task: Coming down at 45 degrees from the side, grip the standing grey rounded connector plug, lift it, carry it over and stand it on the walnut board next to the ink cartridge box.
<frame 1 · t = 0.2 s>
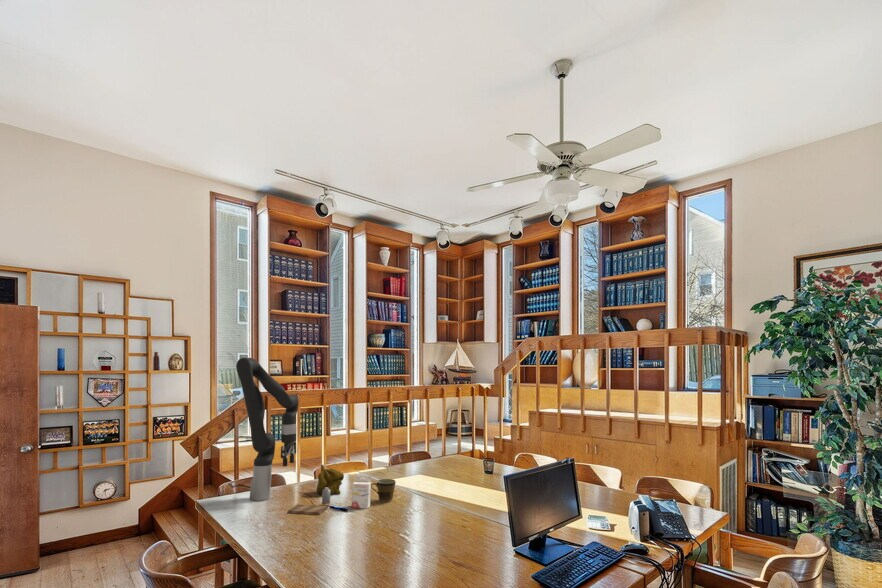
hand: (288, 464, 252), 18 cm above the table, tool pointing down, fingers open, 8 cm apart
ink cartridge box: (360, 507, 239), on the table
ceramic cup: (382, 501, 249), on the table
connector: (325, 505, 240), on the table
gourd: (328, 493, 264), on the table
walnut board: (308, 510, 231), on the table
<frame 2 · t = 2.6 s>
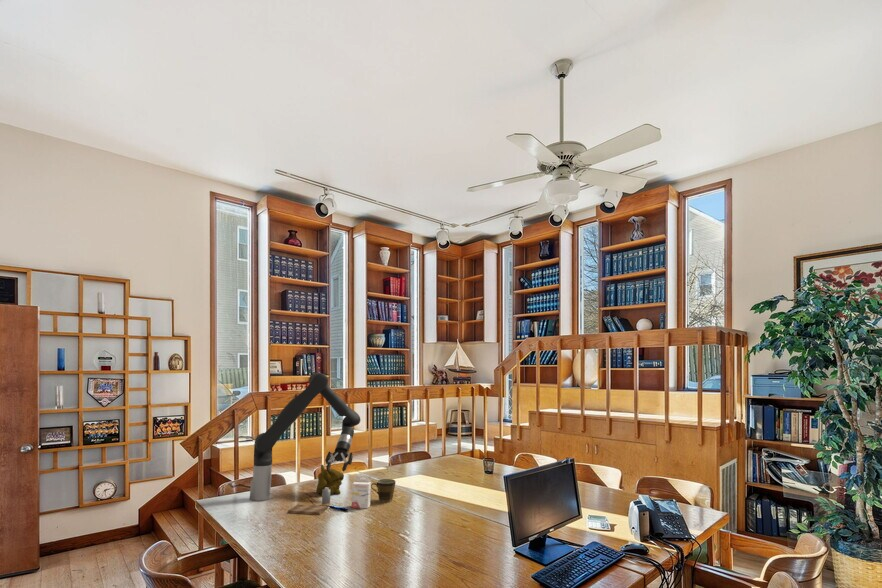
hand: (335, 470, 254), 15 cm above the table, tool tilted 45°, fingers open, 8 cm apart
nothing on the table moved.
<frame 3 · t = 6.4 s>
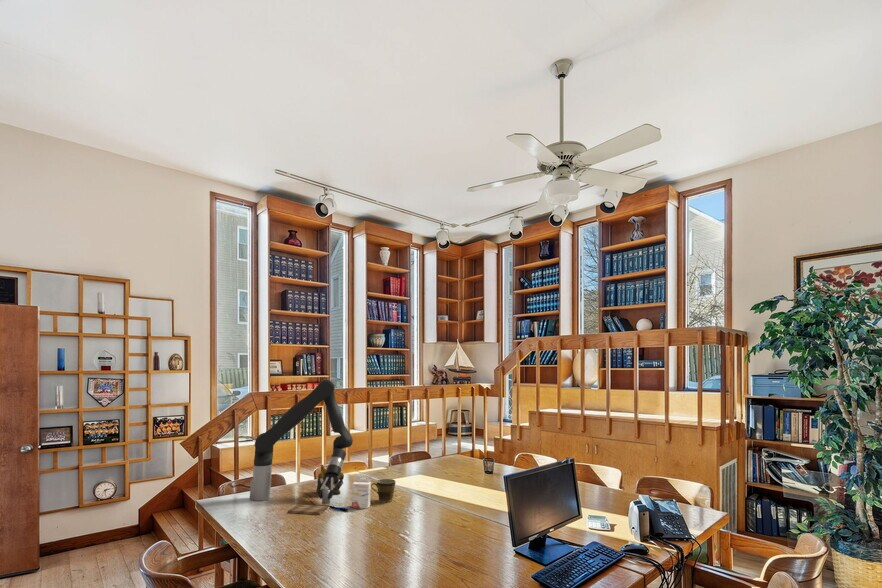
hand: (324, 498, 239), 4 cm above the table, tool tilted 45°, fingers closed on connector, 4 cm apart
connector: (325, 505, 240), on the table, touching gripper
everything else where it was.
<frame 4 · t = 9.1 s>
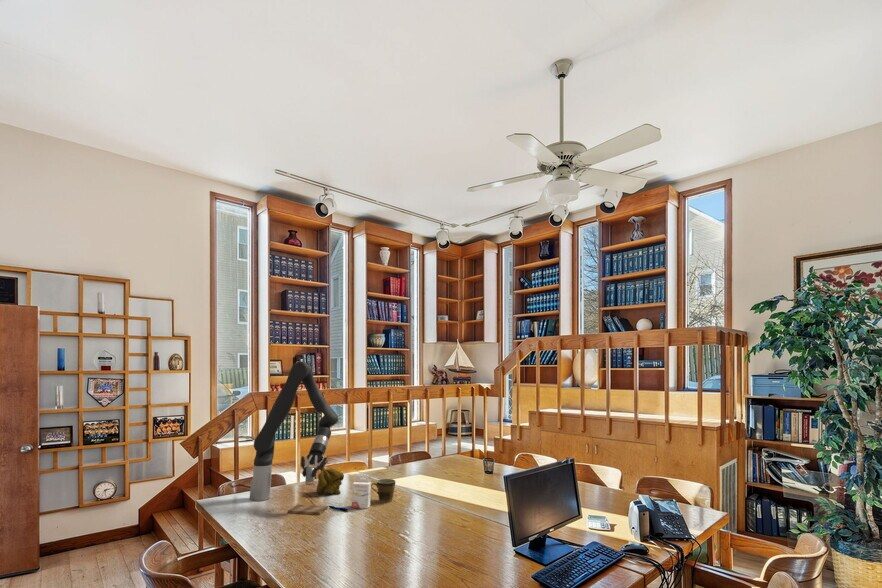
hand: (308, 476, 232), 17 cm above the table, tool tilted 45°, fingers closed on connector, 4 cm apart
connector: (309, 483, 233), point 12 cm above the table, touching gripper
everything else where it was.
when the fingers open (6 cm above the table, at t = 11.7 s): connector stays where it is, resting on walnut board.
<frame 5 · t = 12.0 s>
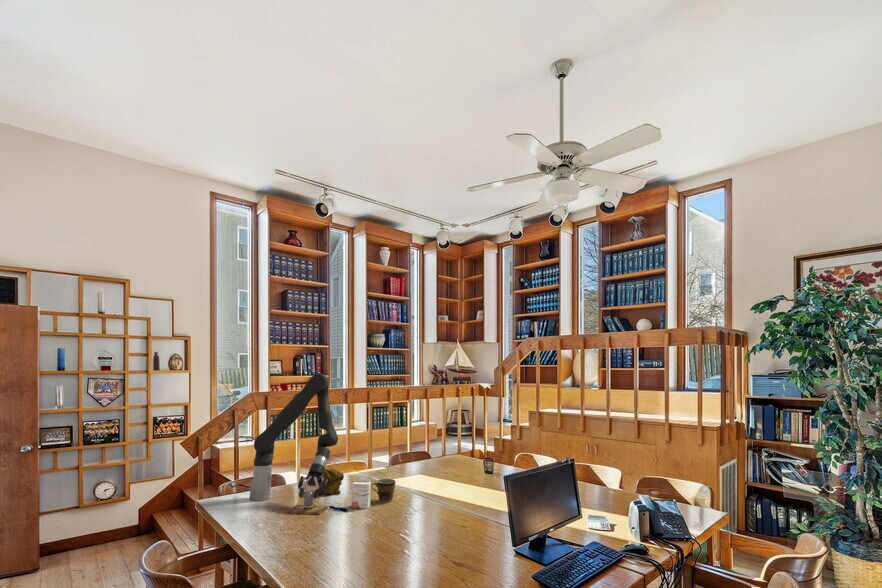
hand: (307, 497, 231), 7 cm above the table, tool tilted 45°, fingers open, 6 cm apart
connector: (308, 507, 231), point 1 cm above the table, touching walnut board
everything else where it was.
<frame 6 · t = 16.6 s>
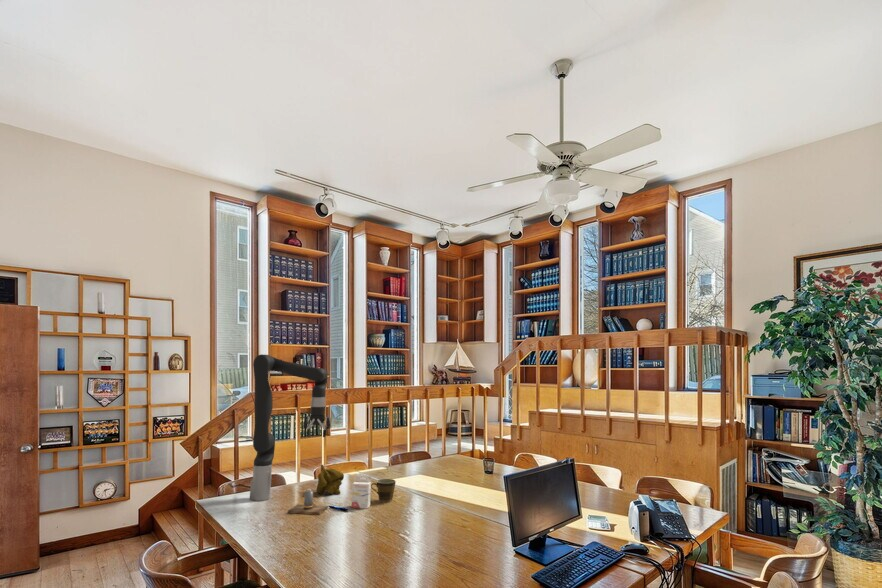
hand: (316, 436, 254), 32 cm above the table, tool pointing down, fingers open, 8 cm apart
nothing on the table moved.
at the end: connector inside the target area on the walnut board (0.1 cm from its centre), point 1.3 cm above the walnut board's base; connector tilted 0°; the gripper is holding nothing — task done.
